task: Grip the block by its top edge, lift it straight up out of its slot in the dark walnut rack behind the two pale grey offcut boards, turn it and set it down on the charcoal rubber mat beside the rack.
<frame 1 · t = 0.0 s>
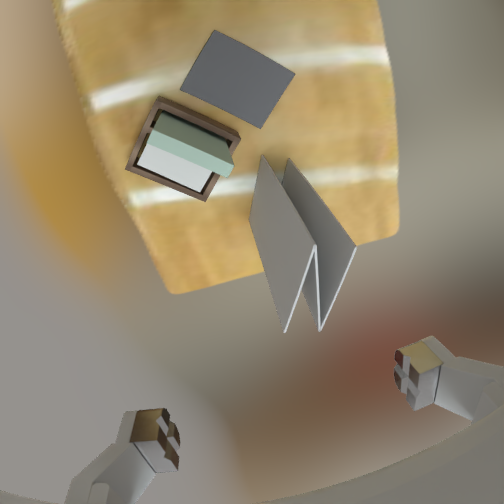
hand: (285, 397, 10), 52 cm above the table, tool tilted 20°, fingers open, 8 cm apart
brochure: (268, 189, 63), on the table
block: (191, 126, 53), resting in rack
rack: (182, 144, 55), on the table
offcut upper: (176, 160, 54), point 3 cm above the table, touching offcut lower
mat: (238, 79, 50), on the table
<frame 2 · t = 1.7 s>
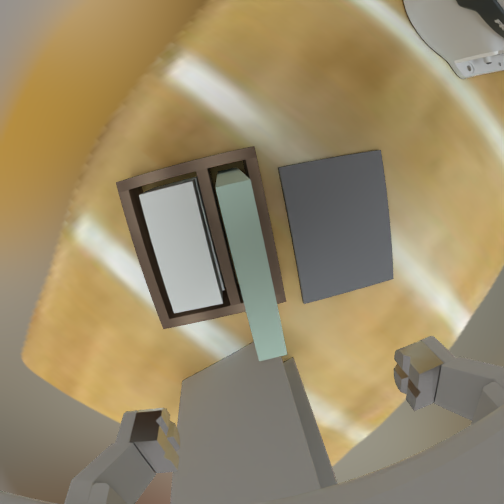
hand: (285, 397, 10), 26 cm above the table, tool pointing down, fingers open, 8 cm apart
brochure: (237, 370, 41), on the table
block: (239, 223, 35), resting in rack
rack: (205, 231, 35), on the table
offcut lower: (189, 234, 35), resting in rack
offcut upper: (184, 242, 32), point 3 cm above the table
mat: (341, 227, 36), on the table
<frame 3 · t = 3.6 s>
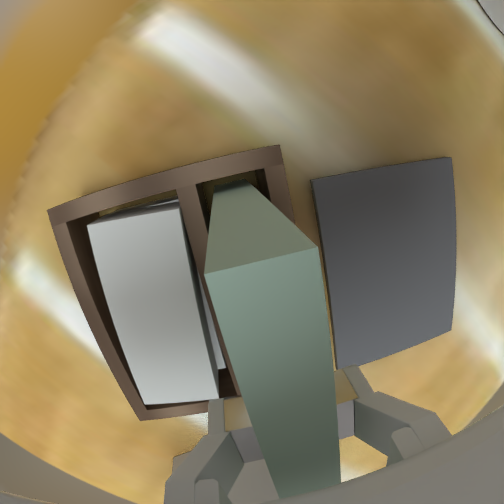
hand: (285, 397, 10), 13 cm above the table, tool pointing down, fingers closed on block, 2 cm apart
brochure: (243, 447, 28), on the table
block: (249, 267, 23), resting in rack, touching gripper
rack: (197, 279, 22), on the table
offcut lower: (173, 282, 23), resting in rack, touching offcut upper
offcut upper: (163, 300, 20), point 3 cm above the table, touching offcut lower
mat: (396, 267, 24), on the table
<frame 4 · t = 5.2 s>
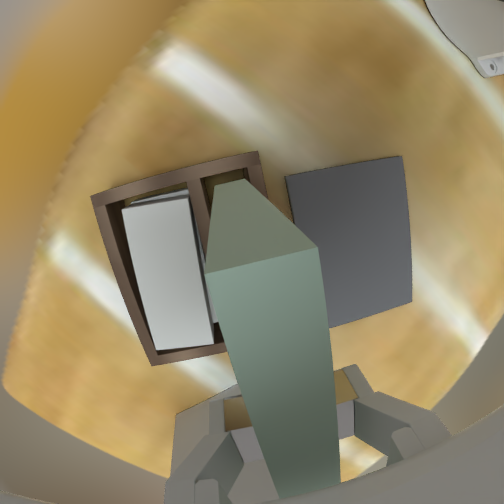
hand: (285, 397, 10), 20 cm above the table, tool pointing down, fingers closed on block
brochure: (236, 403, 35), on the table
block: (249, 267, 23), point 7 cm above the table, touching gripper
rack: (199, 252, 29), on the table
offcut lower: (179, 254, 30), resting in rack, touching offcut upper
offcut upper: (173, 268, 27), point 3 cm above the table, touching offcut lower
mat: (357, 245, 31), on the table
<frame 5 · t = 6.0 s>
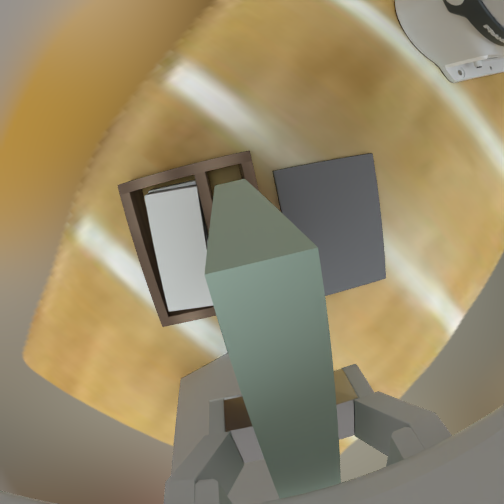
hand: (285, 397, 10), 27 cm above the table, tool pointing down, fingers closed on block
brochure: (234, 368, 42), on the table
block: (249, 267, 23), point 14 cm above the table, touching gripper
rack: (203, 232, 36), on the table
offcut upper: (183, 244, 34), point 3 cm above the table, touching offcut lower
mat: (335, 228, 37), on the table
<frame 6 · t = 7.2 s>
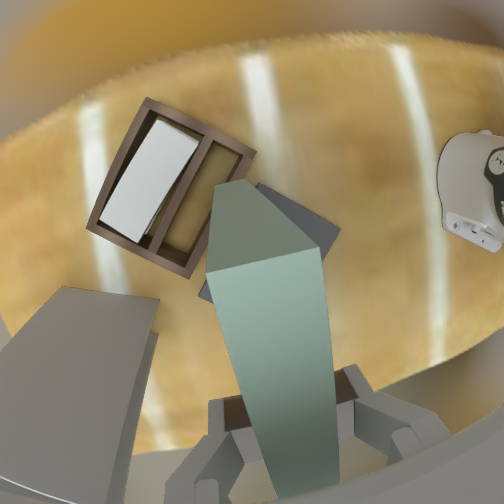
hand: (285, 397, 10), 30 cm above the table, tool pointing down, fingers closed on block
brochure: (109, 310, 41), on the table
block: (248, 267, 23), point 17 cm above the table, touching gripper
rack: (171, 185, 37), on the table
offcut upper: (151, 180, 34), point 3 cm above the table, touching offcut lower
mat: (269, 261, 41), on the table
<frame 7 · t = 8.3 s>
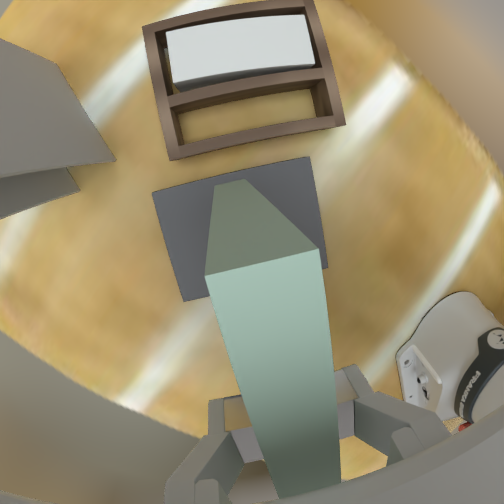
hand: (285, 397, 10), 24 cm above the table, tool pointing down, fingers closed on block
brochure: (65, 124, 28), on the table
block: (249, 267, 23), point 11 cm above the table, touching gripper
rack: (240, 80, 29), on the table
offcut upper: (238, 54, 26), point 3 cm above the table, touching offcut lower
mat: (243, 230, 33), on the table
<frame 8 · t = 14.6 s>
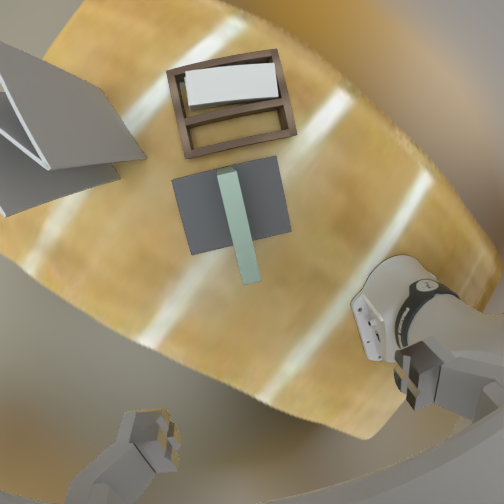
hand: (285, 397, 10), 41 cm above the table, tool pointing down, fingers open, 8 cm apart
brochure: (109, 133, 44), on the table
block: (233, 206, 49), point 1 cm above the table, touching mat
rack: (230, 105, 45), on the table
offcut upper: (231, 87, 42), point 3 cm above the table
mat: (232, 205, 49), on the table
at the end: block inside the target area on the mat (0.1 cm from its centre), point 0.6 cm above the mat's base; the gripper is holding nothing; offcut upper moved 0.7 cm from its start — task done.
